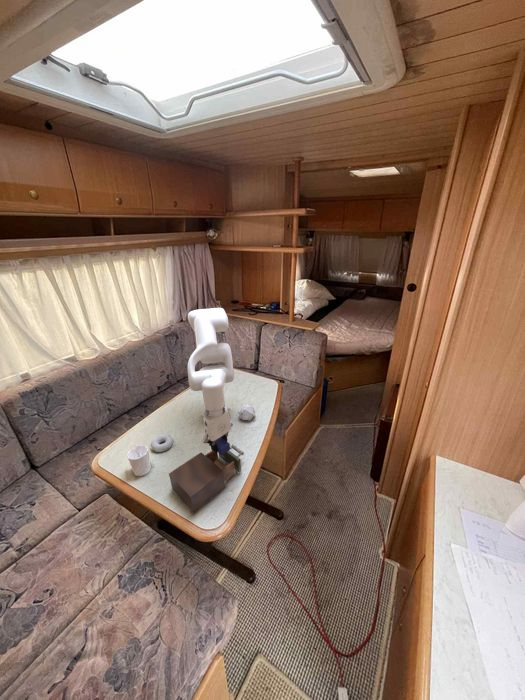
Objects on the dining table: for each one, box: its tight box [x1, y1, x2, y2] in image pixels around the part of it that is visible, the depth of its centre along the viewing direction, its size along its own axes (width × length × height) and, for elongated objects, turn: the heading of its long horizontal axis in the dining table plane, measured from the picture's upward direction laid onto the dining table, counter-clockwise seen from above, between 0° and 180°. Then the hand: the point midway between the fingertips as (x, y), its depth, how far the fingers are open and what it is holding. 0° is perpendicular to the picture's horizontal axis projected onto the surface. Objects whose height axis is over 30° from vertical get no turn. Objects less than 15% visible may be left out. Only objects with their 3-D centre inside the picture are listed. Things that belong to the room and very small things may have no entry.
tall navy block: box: [208, 437, 231, 455], centre depth 109 cm, size 8×4×3 cm, turn 46°
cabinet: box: [168, 452, 226, 514], centre depth 105 cm, size 15×15×9 cm
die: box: [237, 403, 256, 421], centre depth 145 cm, size 8×9×10 cm
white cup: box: [126, 444, 152, 477], centre depth 115 cm, size 8×8×10 cm
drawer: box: [204, 444, 245, 482], centre depth 113 cm, size 18×14×7 cm
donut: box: [150, 434, 174, 453], centre depth 129 cm, size 10×4×10 cm
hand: (219, 446), depth 109 cm, fingers closed on tall navy block, 4 cm apart
